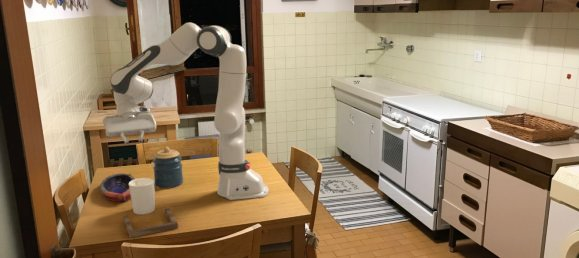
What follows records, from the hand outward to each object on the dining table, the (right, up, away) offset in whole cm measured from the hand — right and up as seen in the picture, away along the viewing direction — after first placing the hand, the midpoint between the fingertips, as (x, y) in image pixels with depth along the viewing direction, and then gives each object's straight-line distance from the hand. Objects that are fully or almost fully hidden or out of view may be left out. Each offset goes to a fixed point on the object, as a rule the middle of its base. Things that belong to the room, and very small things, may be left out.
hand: (133, 141), depth 192 cm
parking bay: (+12, -30, -17) cm, 37 cm away
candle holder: (+6, -27, -5) cm, 28 cm away
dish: (-11, -23, +15) cm, 30 cm away
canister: (+8, -20, +25) cm, 33 cm away
